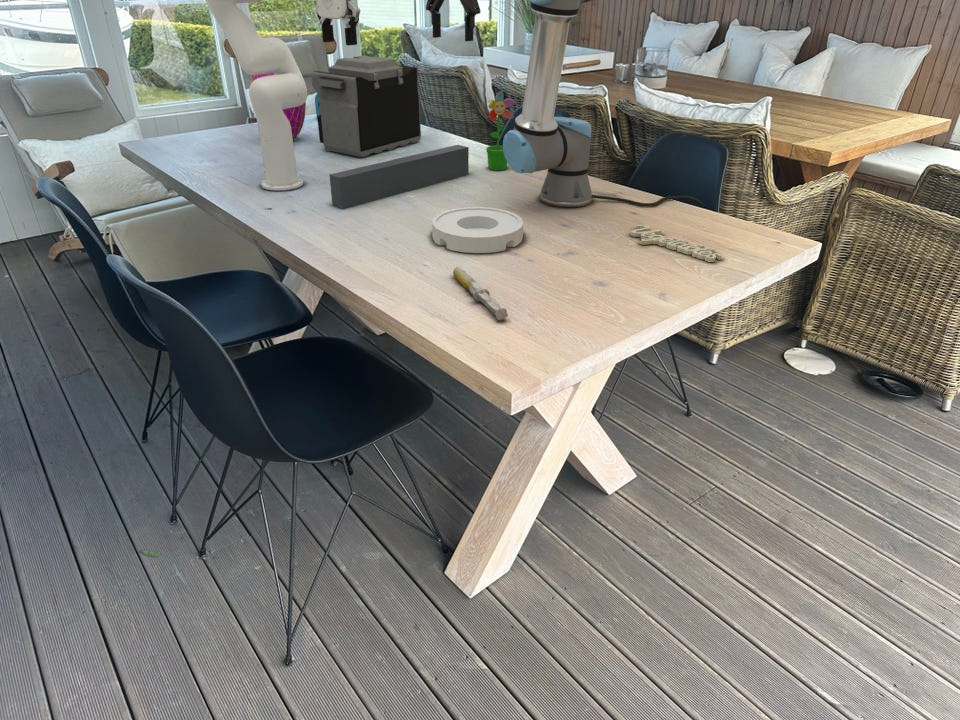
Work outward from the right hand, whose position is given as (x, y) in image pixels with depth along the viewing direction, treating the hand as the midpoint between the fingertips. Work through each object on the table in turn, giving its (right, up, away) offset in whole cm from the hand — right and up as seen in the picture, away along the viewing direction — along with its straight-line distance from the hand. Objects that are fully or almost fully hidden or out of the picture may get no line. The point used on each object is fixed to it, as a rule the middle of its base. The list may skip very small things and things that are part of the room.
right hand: (452, 39), depth 204 cm
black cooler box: (-33, -15, +54) cm, 65 cm away
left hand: (-28, -14, -27) cm, 41 cm away
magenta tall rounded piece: (-67, -11, +61) cm, 91 cm away
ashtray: (+8, -64, -28) cm, 70 cm away
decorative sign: (+56, -67, -32) cm, 93 cm away
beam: (-15, -43, +8) cm, 46 cm away
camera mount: (-54, +9, +94) cm, 108 cm away
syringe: (+8, -82, -59) cm, 102 cm away
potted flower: (+14, -30, +29) cm, 44 cm away
